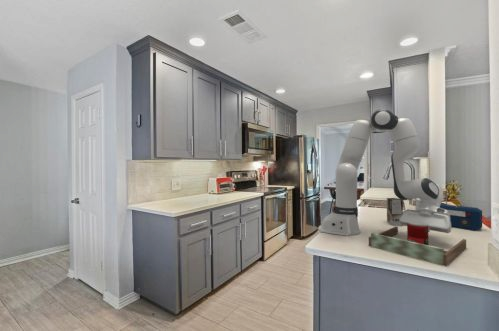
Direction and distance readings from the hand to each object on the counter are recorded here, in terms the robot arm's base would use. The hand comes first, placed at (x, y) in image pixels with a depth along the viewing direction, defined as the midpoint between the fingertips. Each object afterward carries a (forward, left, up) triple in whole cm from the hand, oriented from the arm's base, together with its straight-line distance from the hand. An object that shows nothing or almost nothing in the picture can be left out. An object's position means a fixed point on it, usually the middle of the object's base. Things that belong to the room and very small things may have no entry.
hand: (420, 235), depth 114 cm
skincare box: (+12, +44, -5) cm, 46 cm away
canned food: (-2, -4, -4) cm, 6 cm away
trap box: (-3, -5, -4) cm, 7 cm away
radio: (+28, +44, -5) cm, 53 cm away
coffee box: (-5, +39, -5) cm, 40 cm away
